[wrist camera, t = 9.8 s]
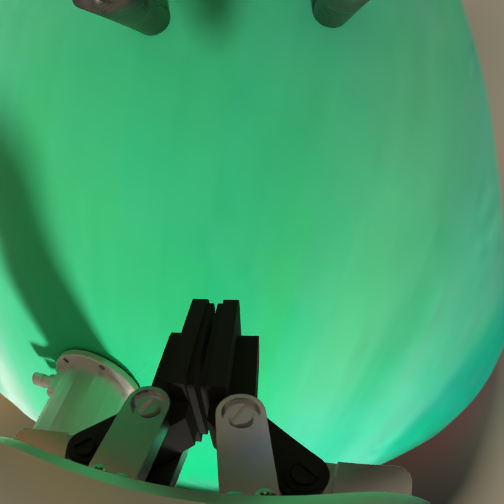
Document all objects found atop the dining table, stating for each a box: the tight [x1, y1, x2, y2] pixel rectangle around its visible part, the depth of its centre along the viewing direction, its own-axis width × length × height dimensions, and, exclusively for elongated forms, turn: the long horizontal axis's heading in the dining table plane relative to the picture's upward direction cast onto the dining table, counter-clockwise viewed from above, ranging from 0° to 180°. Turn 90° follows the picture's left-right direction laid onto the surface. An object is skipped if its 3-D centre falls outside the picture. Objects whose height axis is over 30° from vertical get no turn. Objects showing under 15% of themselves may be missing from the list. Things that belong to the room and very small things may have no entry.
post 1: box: [73, 0, 170, 36], centre depth 13 cm, size 2×2×9 cm
